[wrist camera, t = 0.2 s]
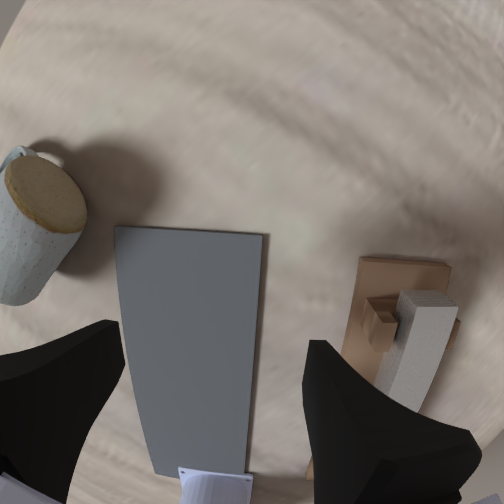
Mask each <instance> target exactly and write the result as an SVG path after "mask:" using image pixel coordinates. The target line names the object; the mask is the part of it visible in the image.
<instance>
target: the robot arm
mask: <svg viewBox="0 0 504 504" xmlns="http://www.w3.org/2000/svg"><path fill="white" fill-rule="evenodd" d="M124 367H125V359H124V354H123V348H122V342H121V336H120V329H119V323H118V321H112V320H106V319H105V320H101V321H98V322H96V323H93V324H91V325H89V326H86V327H84V328H82V329H79V330H77V331H75V332H73V333H70V334H68V335H66V336H63V337H61V338H58V339H56V340H53V341H51V342H48V343H46V344H43V345H40V346H37V347H34V348H31V349H27V350H24V351H20V352H16V353H11V354H5V355H0V504H66V501H67V496H68V492H69V487H70V483H71V480H72V476H73V473H74V469H75V466H76V463H77V460H78V458H79V455H80V452H81V449H82V447H83V444H84V442H85V440H86V437H87V435H88V433H89V430H90V428H91V427H92V425H93V423H94V421H95V419H96V418H97V416H98V415H99V413H100V411H101V410H102V408H103V406H104V405H105V403H106V402H107V400H108V398H109V397H110V395H111V393H112V392H113V390H114V389H115V387H116V385H117V383H118V381H119V379H120V377H121V374H122V372H123V369H124ZM302 394H303V408H304V413H305V419H306V424H307V430H308V435H309V440H310V446H311V451H312V458H313V472H314V504H458V503H459V502H460V501H461V499H462V497H461V495H460V492H459V489H460V488H461V487H462V486H463V484H464V483H465V482H466V481H467V480H468V479H469V477H470V476H471V475H472V474H473V473H474V471H475V470H476V468H477V467H478V465H479V463H480V461H481V458H482V451H481V449H480V448H479V446H478V444H477V442H476V441H475V439H474V437H473V436H472V434H471V433H470V431H469V430H466V429H462V428H458V427H455V426H451V425H447V424H444V423H441V422H438V421H436V420H433V419H431V418H428V417H426V416H423V415H421V414H419V413H417V412H415V411H413V410H411V409H409V408H407V407H405V406H403V405H401V404H400V403H398V402H396V401H395V400H393V399H391V398H390V397H388V396H387V395H385V394H384V393H383V392H381V391H380V390H378V389H377V388H376V387H374V386H373V385H372V384H371V383H369V382H368V381H367V380H366V379H365V378H363V377H362V376H361V375H360V374H359V373H358V372H357V371H356V370H355V369H354V368H352V367H351V366H350V365H349V364H348V363H347V362H346V361H345V360H344V358H343V357H342V356H341V355H340V354H339V353H338V352H337V351H336V350H335V349H334V348H333V347H332V346H331V345H330V344H329V343H328V342H327V341H326V340H309V347H308V353H307V358H306V364H305V370H304V375H303V381H302ZM178 471H179V476H180V480H181V485H182V489H183V491H182V495H181V498H180V502H179V504H250V498H251V491H252V484H253V475H252V474H249V473H244V474H234V473H224V472H216V471H208V470H201V469H194V468H188V467H182V466H180V467H178ZM182 471H184V472H182ZM472 504H502V502H501V500H500V498H499V496H498V494H496V493H495V494H493V495H490V496H488V497H486V498H484V499H481V500H479V501H477V502H474V503H472Z"/></svg>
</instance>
